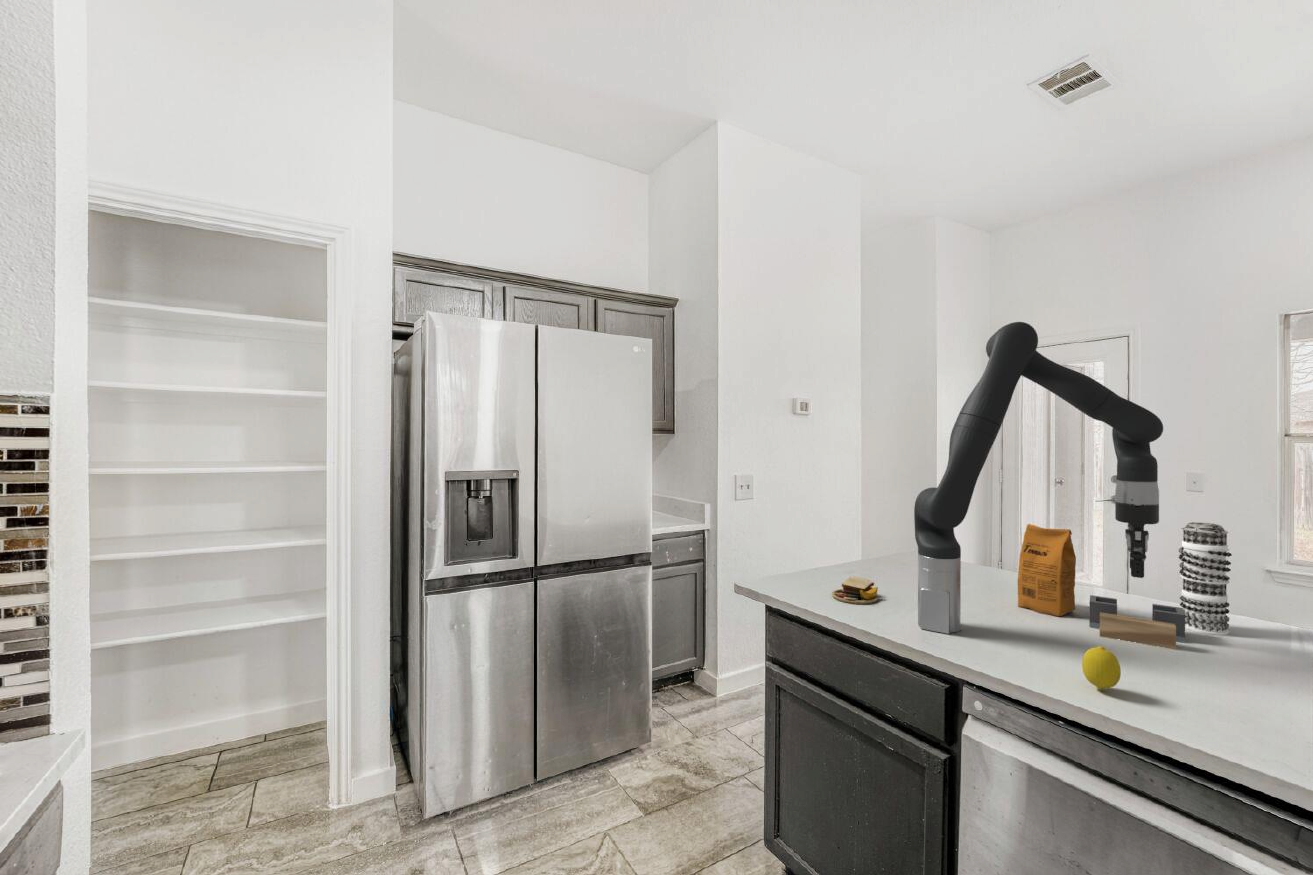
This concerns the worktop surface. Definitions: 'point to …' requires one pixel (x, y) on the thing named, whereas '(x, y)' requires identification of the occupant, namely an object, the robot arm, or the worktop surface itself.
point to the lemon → (1101, 668)
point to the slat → (1138, 630)
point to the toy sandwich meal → (856, 591)
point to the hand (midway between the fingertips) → (1136, 573)
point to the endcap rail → (1158, 614)
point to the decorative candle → (1205, 578)
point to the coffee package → (1047, 571)
